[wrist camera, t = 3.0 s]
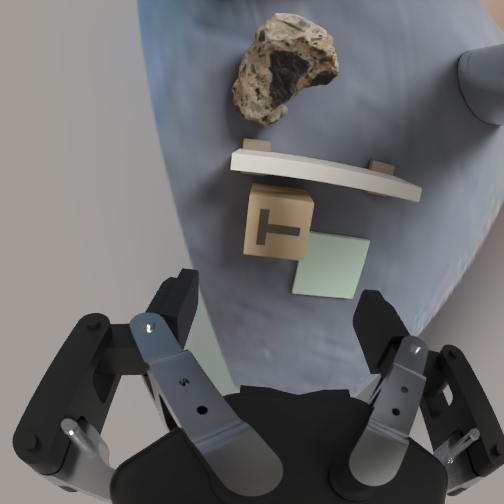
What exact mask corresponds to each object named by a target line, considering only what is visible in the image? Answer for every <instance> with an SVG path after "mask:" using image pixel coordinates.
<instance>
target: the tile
mask: <svg viewBox="0 0 504 504" xmlns="http://www.w3.org/2000/svg"><path fill="white" fill-rule="evenodd" d="M369 244H370V241H369V240H368V239H362V238H356V237H349V236H342V235H335V234H328V233H321V232H314V231H309V235H308V240H307V245H306V250H305V255H304V259H303V261H298V264H297V269H296V273H295V278H294V283H293V287H292V293H294V294H304V295H314V296H325V297H336V298H348V299H353V296H354V293H355V290H356V287H357V284H358V281H359V278H360V274H361V271H362V268H363V265H364V261H365V258H366V255H367V251H368V248H369Z"/></svg>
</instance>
